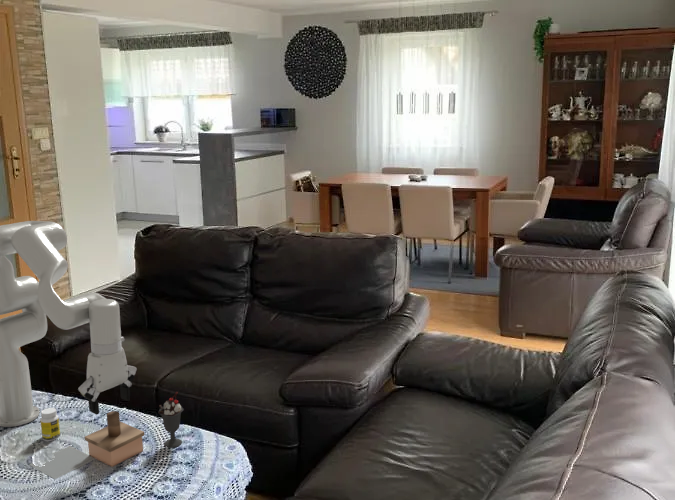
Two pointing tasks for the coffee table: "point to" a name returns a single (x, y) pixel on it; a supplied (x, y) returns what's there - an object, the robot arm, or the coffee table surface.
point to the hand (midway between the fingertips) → (110, 406)
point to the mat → (64, 462)
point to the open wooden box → (116, 452)
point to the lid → (114, 434)
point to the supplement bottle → (50, 424)
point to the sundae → (171, 420)
